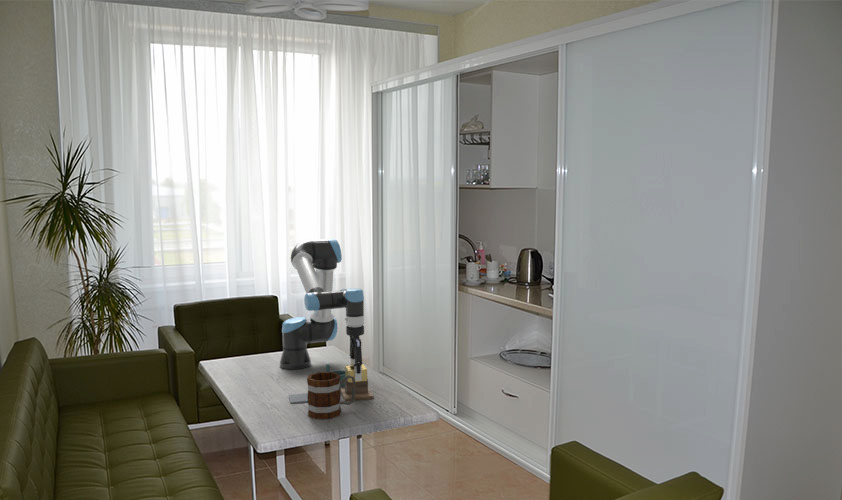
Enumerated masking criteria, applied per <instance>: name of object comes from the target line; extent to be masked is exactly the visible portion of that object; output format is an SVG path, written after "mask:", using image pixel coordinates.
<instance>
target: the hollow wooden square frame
mask: <svg viewBox="0 0 842 500" xmlns="http://www.w3.org/2000/svg"><path fill="white" fill-rule="evenodd" d="M348 365H349V366H346V365H344V366H345V367H344V371H345V377H346V376H348V375H349V376H353V377H354V379H355V369H354V365H351V364H348ZM361 372H362V380H361V381H367V379H368V369H367V367H366V366H365V364H364V363H362V365H361ZM347 381H348V382H353V381H352V378H349V379H347ZM355 382H360V381H355Z"/></svg>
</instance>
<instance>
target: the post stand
mask: <svg viewBox="0 0 842 500" xmlns="http://www.w3.org/2000/svg"><path fill="white" fill-rule="evenodd" d="M354 369H355V366H354ZM352 384H353V382H348V381H347V380H346V382H345V386H344V387H343V388H342V387H340V390H341V395H342V397H343V401H346V402H349V401H351V398H352ZM374 398H375V395H374V394H373V393H372V390H371V389H370V388H369V380H368V378H367V381H360V382H356V384H355V399H354V401H355V402H356V401H363V400H373V399H374ZM354 401H353V402H354Z"/></svg>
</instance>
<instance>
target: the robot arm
mask: <svg viewBox="0 0 842 500" xmlns="http://www.w3.org/2000/svg"><path fill="white" fill-rule="evenodd" d="M342 258H343V257H342V250H341V246H340V243H339V242H338V240H337V239H335V238H326V239H325V238H324V239H323V238H322V239H305V240H301V241H300V242H298V243H297V244H296V245H294V248H293V249H292V251H291V253H290V262H291V265H292V267H293V268H294V269H295V270H296V271H297V274H298V277H299V278H300V281H301V284H302V286H303V289H304V291H305V294H304V299H303V302H304V307H305V310H307V311H309V312H311V311H313V313H311V314H310V319H306V317H303V316H296V317H292V318H288V319H286V320H284V321H283V322H282V325H281V326H282V328H281V333H282V334H281V335H282V353H281V356H280V360H279V367H280V368H281V369H285V370H301V369H306V368H308V367H310V366H311V365H312V362H311V361H312V360H311V357H310V353H309V351H308V348H307V347H308V346H307V345H308V344H315V343H326V342H327V343H328V342H331V341H333V340H334V339H336V336H337V334H338V321H337V319H336V317H335V316H334V314H333V313H332V310H335V309H345V318H344V321H345V322H346V326H345V329H346V330H345V331H346V332H345V333H346V335H347V336H349V357H350V365H354V366H355V381H361V380H362V372H361V365H362V364H363V353H362V340H361V338H360V336H364V335H365V326H364V324H365V315H364V314H365V309H364V307H365V306H364V305H365V304H364V303H365V302H364V301H365V297H364V291H363V289H362V288H356V287H353V288H352V287H350V288H343V289H340V290H333V288H334V287H333V284H334V271H335V270H336V269H337V268H338V264H339V263H341V262H342Z"/></svg>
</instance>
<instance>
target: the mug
mask: <svg viewBox="0 0 842 500" xmlns="http://www.w3.org/2000/svg"><path fill="white" fill-rule="evenodd" d="M349 378H352V381H353V384H352V398H351V401H345V400H341V395H342V394H341V390H340V389H341V387H340V385H341V384H344V383H345V382H346V380H347V379H349ZM306 382H307V393H308V402H307V404H308V406H307V407H308V411H307V417H309V418H312V419H315V420H331V419H334V418H337V417H340V416H341V413H342V408H341V405H347V406H350V405H351V404H353V403H354V399H355V384H356V382H355V379H354V377H353V376H349V375H348V376H346V377H345V378H344V379H343V380H342V381H340V374H338V373H335V372H331V371H330V372H326V371H318V372H314V373H310V374H308V376H307V377H306Z"/></svg>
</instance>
